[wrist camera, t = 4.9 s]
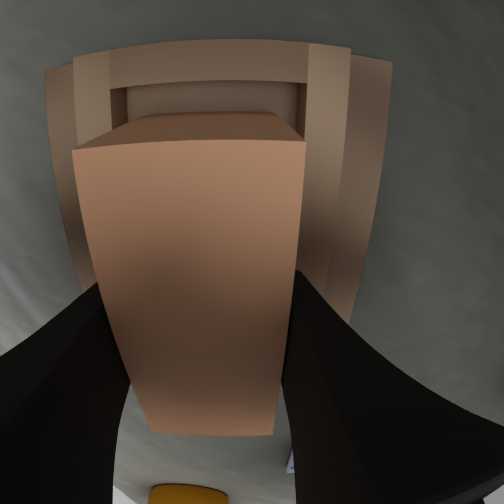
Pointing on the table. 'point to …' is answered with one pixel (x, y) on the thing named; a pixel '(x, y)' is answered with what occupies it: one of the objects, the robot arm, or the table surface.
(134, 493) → the table surface
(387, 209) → the table surface
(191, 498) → the yellow bottle
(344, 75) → the cradle jig
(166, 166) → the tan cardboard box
